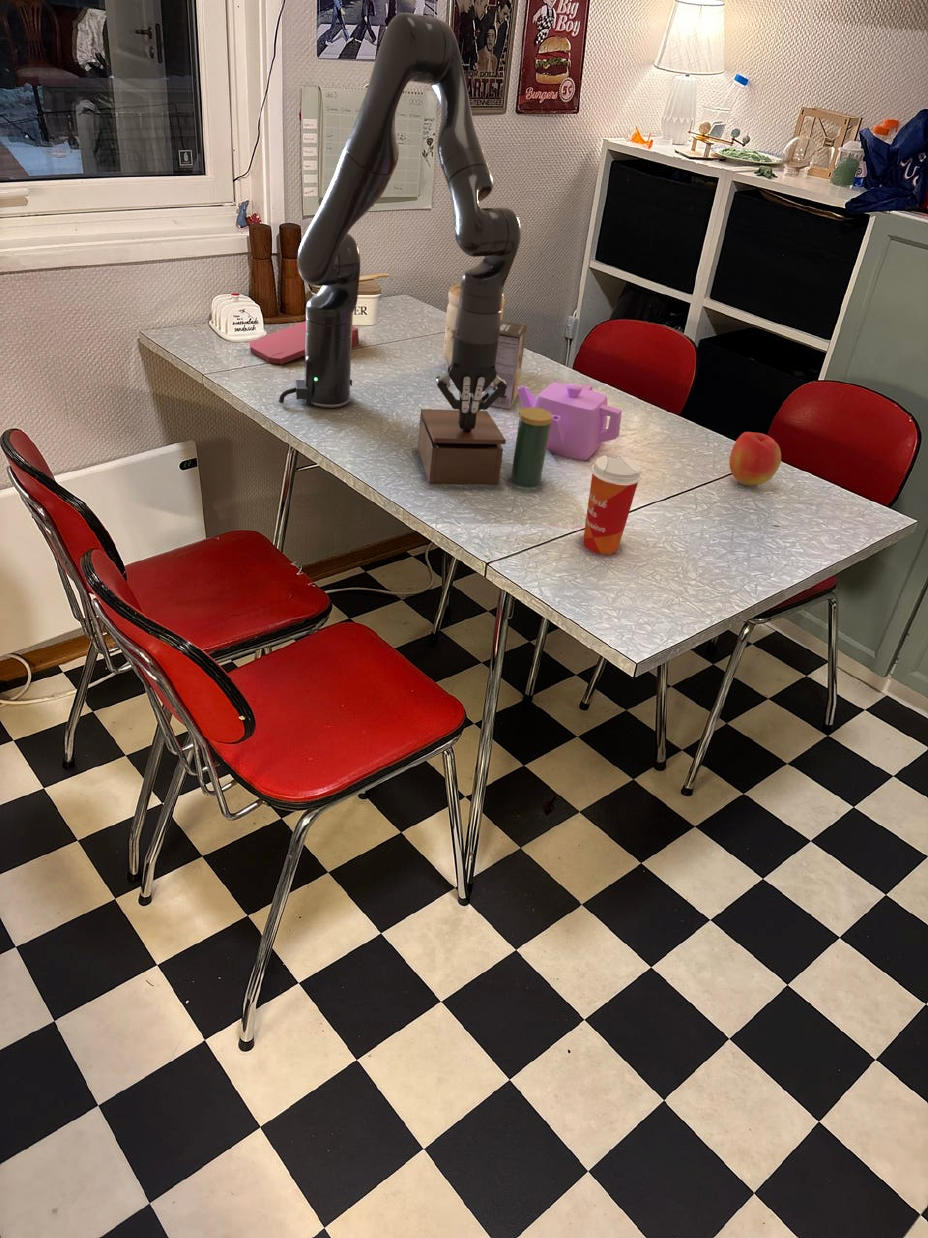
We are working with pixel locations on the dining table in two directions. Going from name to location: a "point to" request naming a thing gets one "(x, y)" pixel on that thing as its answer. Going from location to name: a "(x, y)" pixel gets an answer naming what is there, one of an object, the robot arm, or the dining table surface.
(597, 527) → the coffee cup
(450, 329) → the container
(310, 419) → the dining table surface
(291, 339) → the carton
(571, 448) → the teakettle
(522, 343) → the coffee box
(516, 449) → the tea tin
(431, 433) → the chest lid
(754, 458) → the apple
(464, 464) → the chest
